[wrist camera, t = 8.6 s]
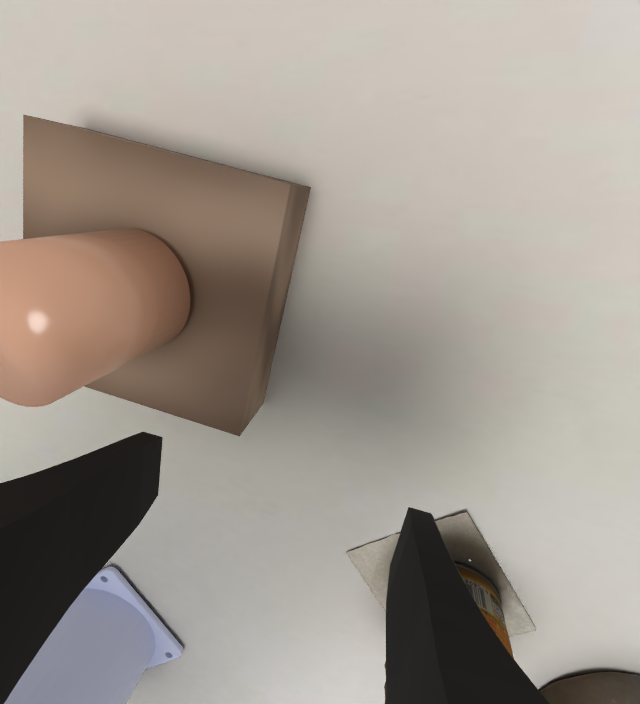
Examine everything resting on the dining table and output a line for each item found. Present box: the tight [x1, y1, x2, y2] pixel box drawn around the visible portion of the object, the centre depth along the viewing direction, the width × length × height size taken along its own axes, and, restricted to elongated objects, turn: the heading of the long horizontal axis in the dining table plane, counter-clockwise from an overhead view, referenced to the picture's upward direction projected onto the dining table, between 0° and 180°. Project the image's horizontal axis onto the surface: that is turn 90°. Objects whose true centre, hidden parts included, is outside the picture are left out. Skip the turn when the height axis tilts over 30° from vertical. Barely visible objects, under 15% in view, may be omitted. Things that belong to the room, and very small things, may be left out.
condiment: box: [346, 512, 536, 704], centre depth 20 cm, size 7×8×12 cm
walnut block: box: [23, 115, 311, 436], centre depth 21 cm, size 11×11×4 cm
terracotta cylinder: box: [0, 228, 190, 407], centre depth 16 cm, size 5×5×6 cm
